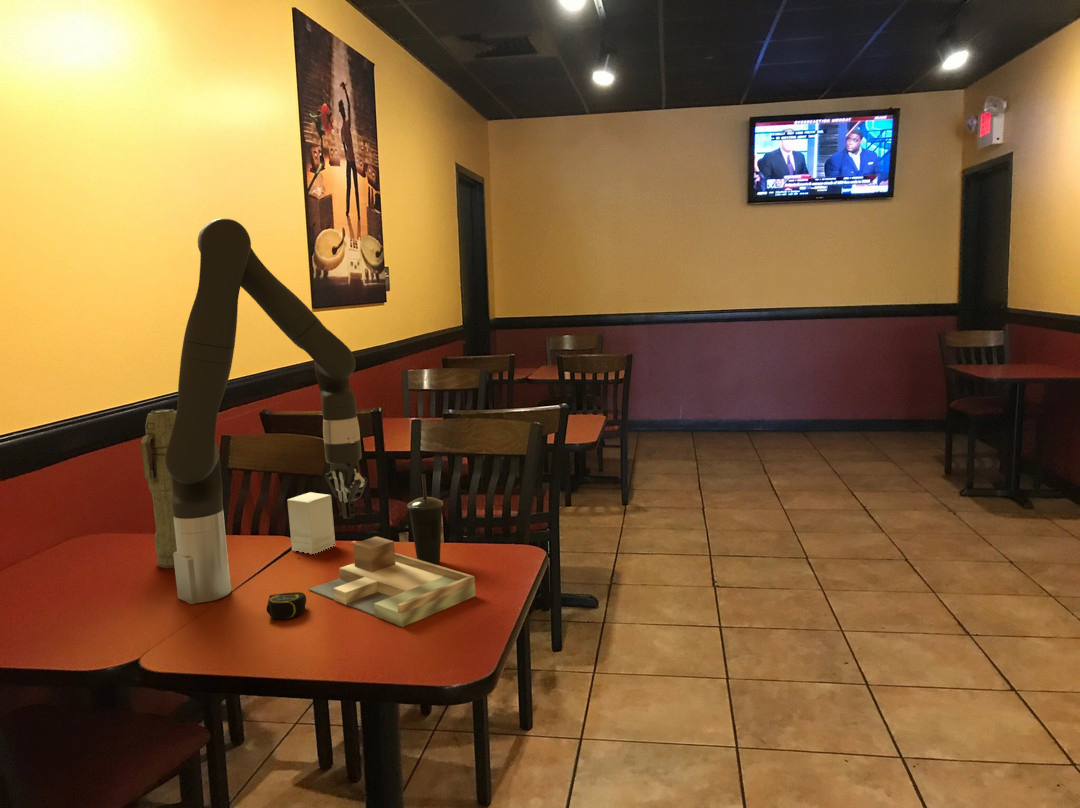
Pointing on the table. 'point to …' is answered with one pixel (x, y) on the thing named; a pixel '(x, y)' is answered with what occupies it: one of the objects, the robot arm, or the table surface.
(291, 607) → the tape measure
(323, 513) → the supplement box
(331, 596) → the board
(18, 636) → the table surface
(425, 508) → the drinking cup
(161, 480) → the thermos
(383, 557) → the walnut block
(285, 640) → the table surface
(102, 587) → the table surface
